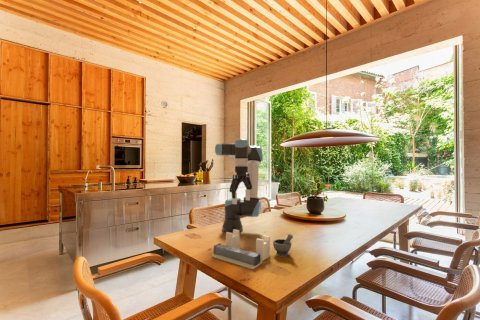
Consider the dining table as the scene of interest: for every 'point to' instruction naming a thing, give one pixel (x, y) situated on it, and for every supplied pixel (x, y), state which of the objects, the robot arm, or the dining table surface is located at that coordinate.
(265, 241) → the beige u-shaped block
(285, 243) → the mortar and pestle
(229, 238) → the beige bridge block
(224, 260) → the mat
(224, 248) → the rail
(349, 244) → the dining table surface
